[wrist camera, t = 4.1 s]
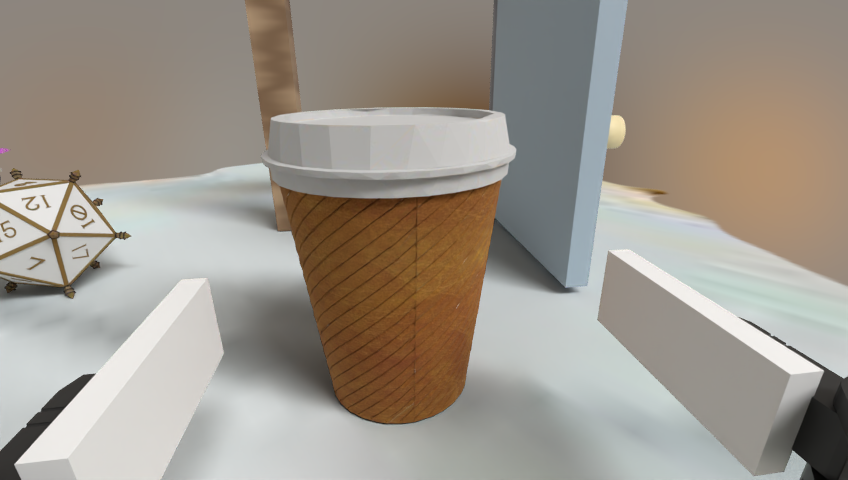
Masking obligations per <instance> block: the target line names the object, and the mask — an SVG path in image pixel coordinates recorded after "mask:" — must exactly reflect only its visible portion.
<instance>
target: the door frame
mask: <svg viewBox="0 0 848 480" xmlns="http://www.w3.org/2000/svg"><path fill="white" fill-rule="evenodd" d="M245 4H246V11H247V18H248V25H249V32H250V39H251V46H252V53H253V60H254V67H255V74H256V80H257V88H258V95H259V102H260V109H261V116H262V123H263V130H264V137H265V144H266V150H268V145H269V133H270V121H271V118H272V117H275V116H278V115H283V114H290V113H297V112H302V111H301V103H300V93H299V84H298V75H297V66H296V57H295V48H294V38H293V30H292V20H291V12H290V2H289V0H245ZM269 172H270V179H271V186H272V193H273V200H274V207H275V214H276V221H277V228H278V231H290V230H291V226H290V223H289V220H288V216H287V211H286V208H285V205H284V201H283V196H282V193H281V190H280V186H279V185H278V184H277V183H276V182H274V181H273V180H272V176H271V171H270V168H269Z"/></svg>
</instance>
